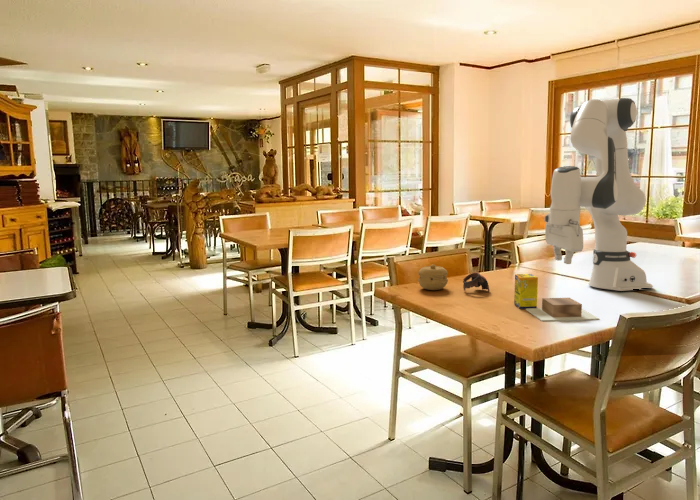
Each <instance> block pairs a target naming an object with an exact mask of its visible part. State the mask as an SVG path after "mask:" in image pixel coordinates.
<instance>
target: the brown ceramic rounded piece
mask: <svg viewBox="0 0 700 500" xmlns="http://www.w3.org/2000/svg"><path fill="white" fill-rule="evenodd" d="M470 279H471V280H470ZM462 283H463V286H462V289H463V291H464V292H466V289H470V288H473V287H475V288H480V287H481V290H483V291H484V290H487V292H488V293H489V292H490V286H489V282H488V280H487V278H486V277H485V276H483V275H481V274H480V272H477V271H476V272H471V273H470V274H468V275H466V276H465V277H464V278H463V280H462Z"/></svg>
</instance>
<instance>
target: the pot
mask: <svg viewBox="0 0 700 500" xmlns="http://www.w3.org/2000/svg"><path fill="white" fill-rule="evenodd" d="M417 274H418V276H419V277H418V279H417V282H418V283H419V286H420V287H421V288H422V289H425V290H428V291H438V290H442V289H444V288H445V287H446V285H447V284H448V281H449V279H448V278H447V276H448V270H447V269H446V268H444V267H443V266H440V265H439V266H438V265H436V264H431V265H428V266H427V265H426V266H423V267H421V268H420V269H419V270H418V273H417Z"/></svg>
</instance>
